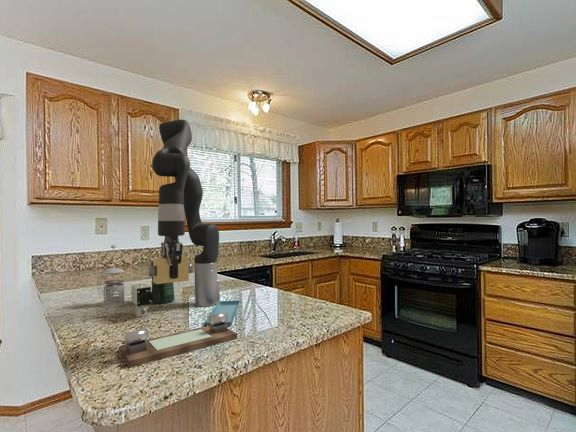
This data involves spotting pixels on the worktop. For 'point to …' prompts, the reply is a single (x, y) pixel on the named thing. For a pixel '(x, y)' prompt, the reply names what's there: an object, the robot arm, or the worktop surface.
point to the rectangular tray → (225, 310)
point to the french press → (113, 288)
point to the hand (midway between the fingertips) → (171, 277)
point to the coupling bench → (174, 341)
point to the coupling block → (162, 270)
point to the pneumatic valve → (141, 298)
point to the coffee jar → (162, 292)
